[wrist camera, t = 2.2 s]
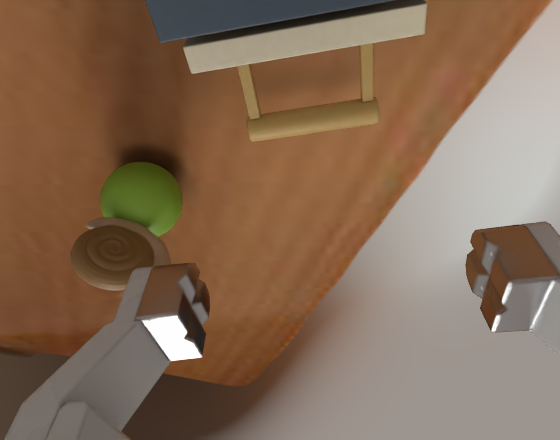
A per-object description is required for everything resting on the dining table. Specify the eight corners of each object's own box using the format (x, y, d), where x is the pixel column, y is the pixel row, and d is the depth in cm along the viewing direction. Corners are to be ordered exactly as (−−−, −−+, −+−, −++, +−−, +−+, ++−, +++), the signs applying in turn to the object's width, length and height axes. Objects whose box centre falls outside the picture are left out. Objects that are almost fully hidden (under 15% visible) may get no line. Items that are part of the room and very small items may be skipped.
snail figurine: (188, 218, 32) (153, 352, 23) (109, 191, 30) (35, 325, 21) (210, 169, 28) (179, 303, 20) (123, 135, 27) (43, 266, 18)
